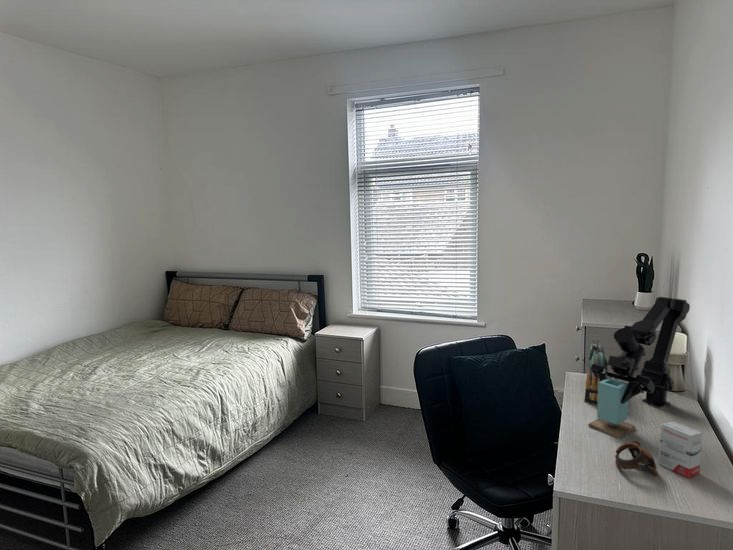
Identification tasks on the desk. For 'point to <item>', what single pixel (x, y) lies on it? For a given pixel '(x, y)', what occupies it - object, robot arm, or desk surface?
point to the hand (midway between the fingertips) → (610, 399)
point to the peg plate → (612, 427)
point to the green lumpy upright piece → (596, 356)
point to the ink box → (680, 449)
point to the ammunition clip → (592, 389)
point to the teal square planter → (612, 401)
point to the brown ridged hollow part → (635, 457)
